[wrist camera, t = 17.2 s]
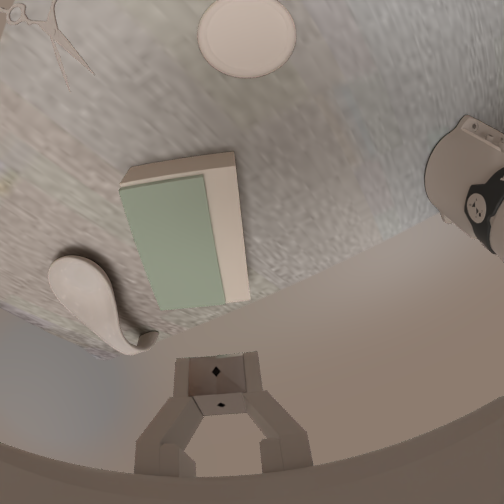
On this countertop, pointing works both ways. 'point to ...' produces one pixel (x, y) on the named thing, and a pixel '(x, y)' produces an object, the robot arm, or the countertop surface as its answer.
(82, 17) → the countertop surface
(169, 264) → the cover
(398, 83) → the countertop surface
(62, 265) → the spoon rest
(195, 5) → the countertop surface
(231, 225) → the beige rectangular box
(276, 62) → the beige short cylinder
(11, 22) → the scissors
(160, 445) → the robot arm
